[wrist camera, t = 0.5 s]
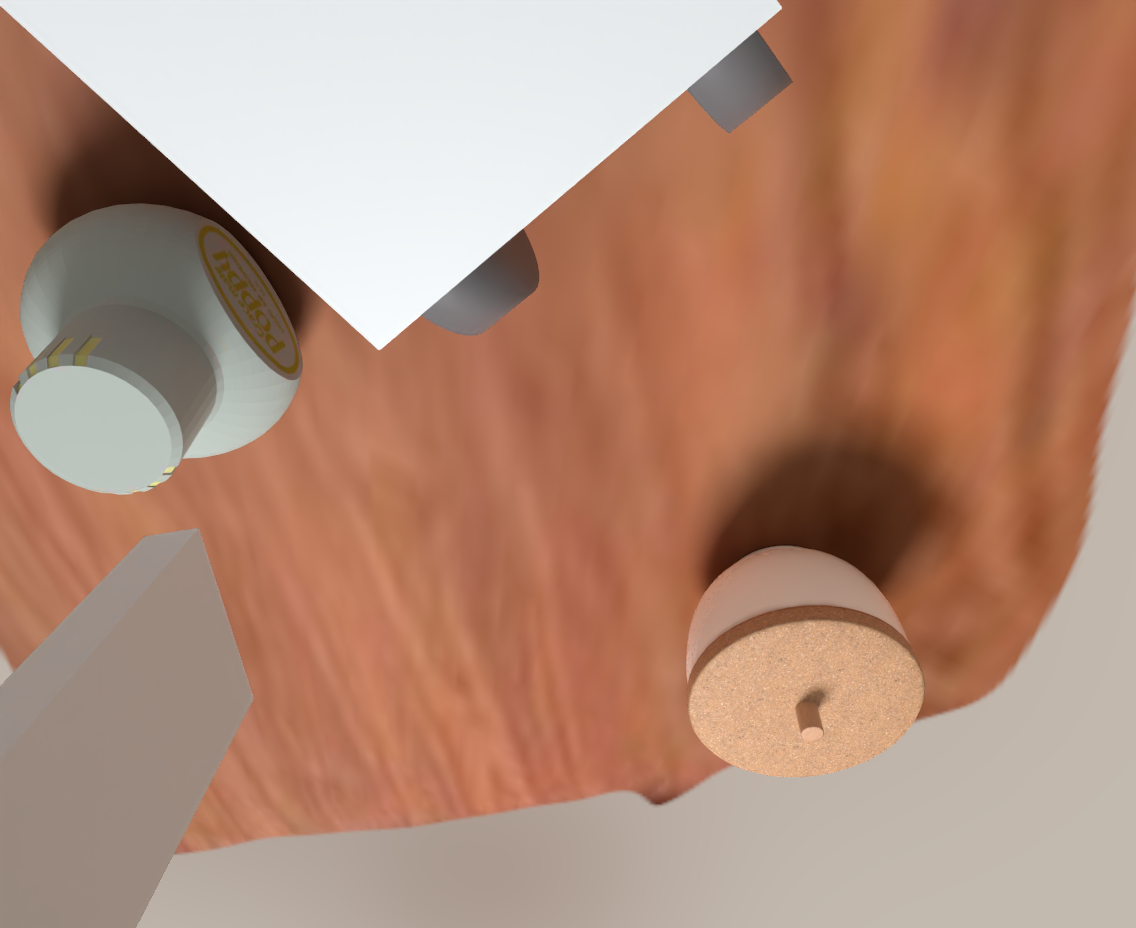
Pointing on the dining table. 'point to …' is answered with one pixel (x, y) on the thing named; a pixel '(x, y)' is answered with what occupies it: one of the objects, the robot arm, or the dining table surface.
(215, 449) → the air freshener
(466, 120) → the trolley
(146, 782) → the robot arm
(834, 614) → the lidded jar
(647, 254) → the dining table surface
